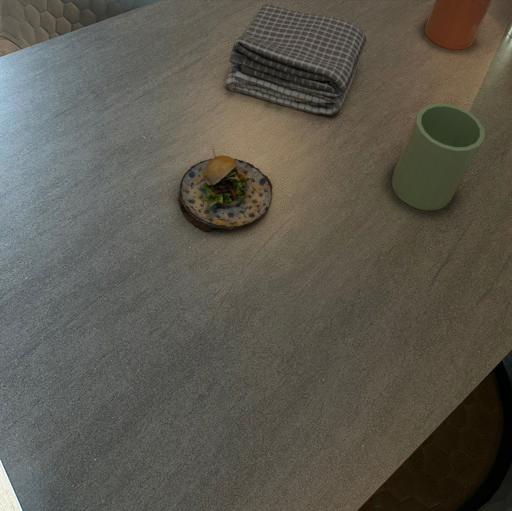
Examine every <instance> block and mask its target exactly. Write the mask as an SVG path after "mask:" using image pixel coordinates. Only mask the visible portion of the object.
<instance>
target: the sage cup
mask: <svg viewBox="0 0 512 511" xmlns="http://www.w3.org/2000/svg"><path fill="white" fill-rule="evenodd" d="M484 141H485V127H484V125H483V124H482V123H481V120H480V119H479V118H477V116H475V115H474V114H473V113H472V112H471V111H469V110H467V109H465V108H462V107H461V106H458V105H455V104H450V103H447V102H446V103H445V102H439V103H438V102H437V103H431V104H428V105H426V106H423V107H422V108H421V109H420V110H419V111H418V112H417V113H416V116H415V119H414V120H413V123H412V126H411V129H410V131H409V134H408V136H407V138H406V141H405V143H404V146H403V148H402V151H401V153H400V155H399V158H398V160H397V163H396V165H395V168H394V170H393V174H392V177H391V187H392V189H393V192H394V193H395V195H396V196H397V197H398V199H400V201H402V202H403V203H405V204H406V205H408V206H410V207H411V208H415V209H417V210H422V211H437V210H441V209H443V208H445V207H446V206H448V205H449V203H450V202H451V201H452V199H453V197H454V196H455V194H456V192H457V190H458V189H459V186H460V185H461V183H462V181H463V179H464V178H465V176H466V174H467V172H468V170H469V168H470V166H471V164H472V163H473V161H474V159H475V158H476V155H477V153H478V152H479V150H480V148H481V146H482V144H483V142H484Z"/></svg>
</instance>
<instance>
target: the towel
mask: <svg viewBox="0 0 512 511" xmlns="http://www.w3.org/2000/svg"><path fill="white" fill-rule="evenodd" d="M367 42H368V40H367V37H366V34H365V33H364V31H363V30H362V29H361V28H359V27H358V26H356V25H354V24H352V23H351V22H349V21H346V20H343V19H339V18H337V17H331V16H326V15H320V14H314V13H313V14H310V13H304V12H300V11H295V10H292V9H291V10H289V9H287V8H283V7H279V6H275V5H273V4H264V5H262V7H261V8H260V9H259V10H258V11H257V13H256V14H255V15H254V17H253V19H252V20H251V22H250V23H249V25H248V26H247V28H246V29H245V30H244V32H243V33H242V34H241V35H240V36H238V38H237V39H236V40H234V44H233V46H232V48H231V54H230V57H229V59H228V61H229V63H231V64H232V65H231V67H230V69H229V73H228V75H227V77H226V80H225V82H224V86H225V87H226V89H228V90H229V91H231V92H232V91H233V92H236V93H240V94H242V93H243V94H245V95H249V96H251V97H253V98H254V97H255V98H258V99H261V100H264V101H267V102H270V103H273V104H278V105H280V106H285V107H288V108H292V109H293V110H299V111H302V112H307V113H312V114H314V115H323V116H333V115H335V114H336V113H339V111H341V109H342V107H343V105H344V103H345V100H346V99H347V96H348V93H349V91H350V88H351V86H352V84H353V81H354V79H355V76H356V73H357V70H358V66H359V65H360V62H361V54H362V52H363V50H364V47H365V46H366V43H367Z"/></svg>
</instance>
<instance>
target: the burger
mask: <svg viewBox="0 0 512 511" xmlns="http://www.w3.org/2000/svg"><path fill="white" fill-rule="evenodd" d="M212 151H213V155H214V157H213V158H209V159H205V160H201V161H199V162H197V163H196V164H194V165H191V166H190V168H188V170H187V171H185V173H184V175H183V176H182V178H181V180H180V183H179V191H178V203H179V208H180V209H181V212H182V214H183V216H185V218H186V219H187V220H188V221H189V222H190V223H191V224H193V226H195V227H198V228H200V229H201V230H202V231H204V232H209V231H210V230H212V229H213V228H214V229H221V230H232V229H234V228H239V227H244V226H248V225H250V224H252V223H254V222H256V221H257V220H258V219H259V218H261V217H262V216H263V215H264V214H266V213H267V212H268V210H269V208H270V204H271V201H272V198H273V185H272V182H271V180H270V178H269V177H268V175H266V174H265V173H262V172H261V170H260V169H259V167H256V166H255V165H254V164H252V163H251V162H247V161H244V160H241V159H239V158H233V157H231V156H228V155H223V154H222V155H216V153H215V149H214V146H213V145H212Z"/></svg>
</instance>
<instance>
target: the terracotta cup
mask: <svg viewBox="0 0 512 511" xmlns="http://www.w3.org/2000/svg"><path fill="white" fill-rule="evenodd" d="M492 1H493V0H434V1H433V5H432V8H431V10H430V13H429V16H428V17H427V18H428V19H427V21H426V25H425V28H424V32H425V35H426V37H427V38H428V39H429V41H431V42H432V43H433V44H435V45H438V46H439V47H441V48H444V49H448V50H455V51H459V50H466V49H467V48H470V47H471V46H472V45H473V43H474V41H475V39H476V37H477V35H478V33H479V31H480V28H481V27H482V24H483V23H484V22H483V21H484V19H485V17H486V15H487V13H488V11H489V8H490V7H491V4H492Z"/></svg>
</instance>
